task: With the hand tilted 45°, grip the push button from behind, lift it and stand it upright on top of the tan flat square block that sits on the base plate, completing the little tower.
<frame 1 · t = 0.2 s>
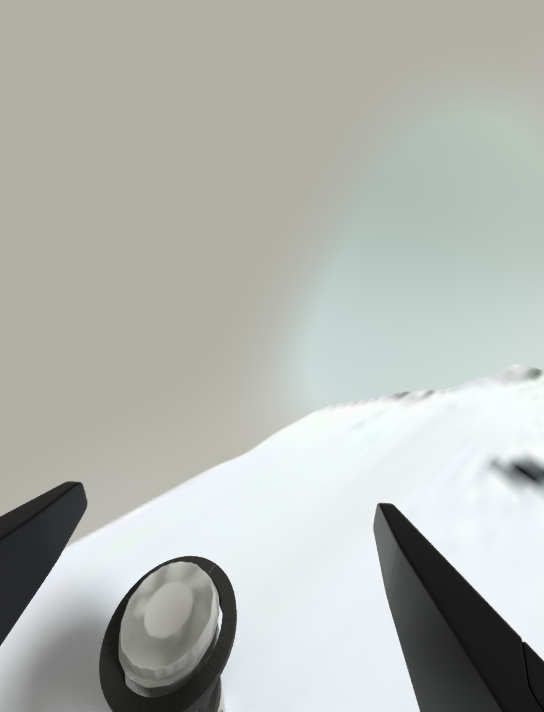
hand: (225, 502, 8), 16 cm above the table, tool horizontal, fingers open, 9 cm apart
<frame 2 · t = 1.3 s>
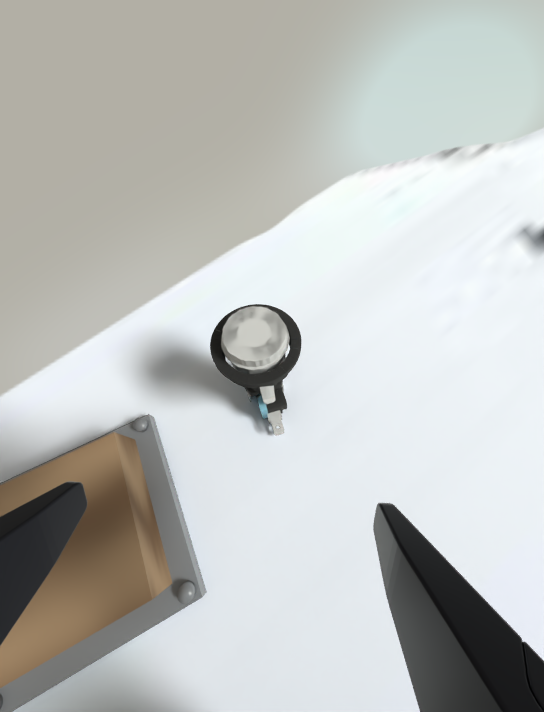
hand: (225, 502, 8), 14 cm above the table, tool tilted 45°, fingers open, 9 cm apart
tan flat square block: (81, 540, 19), resting on base plate
base plate: (90, 538, 20), on the table
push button: (267, 399, 24), on the table
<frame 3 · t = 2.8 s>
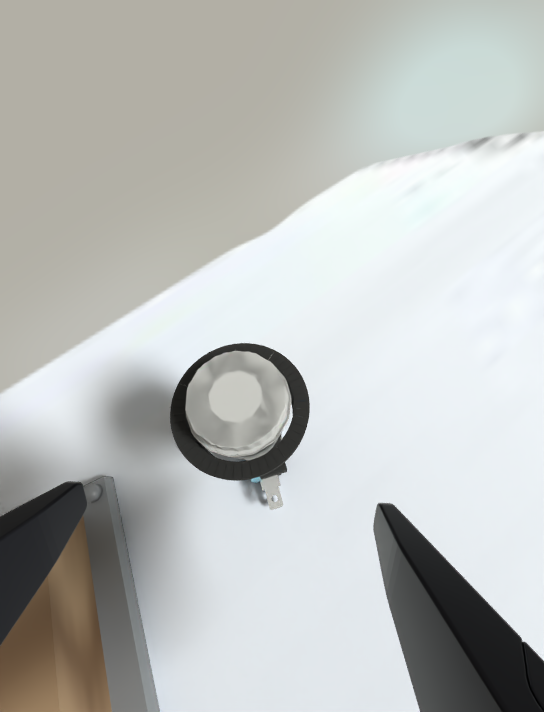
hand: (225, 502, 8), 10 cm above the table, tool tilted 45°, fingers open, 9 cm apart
base plate: (12, 661, 14), on the table
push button: (261, 453, 18), on the table
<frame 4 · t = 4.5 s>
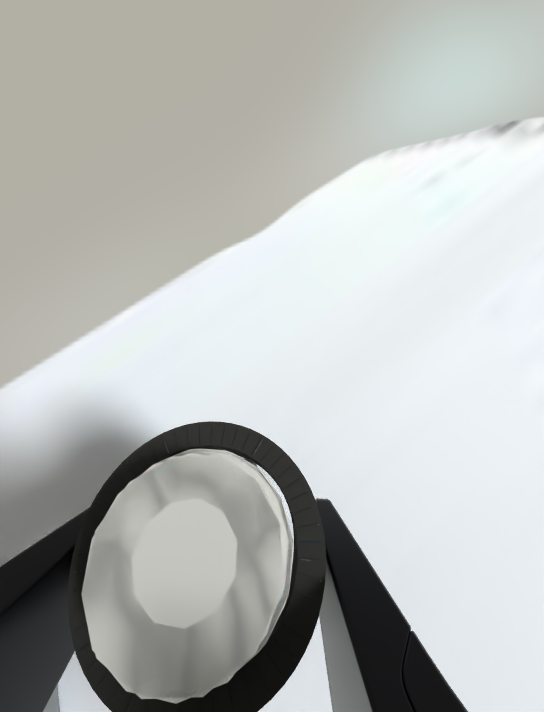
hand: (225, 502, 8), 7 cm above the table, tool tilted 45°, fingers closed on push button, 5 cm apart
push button: (248, 530, 14), on the table, touching gripper
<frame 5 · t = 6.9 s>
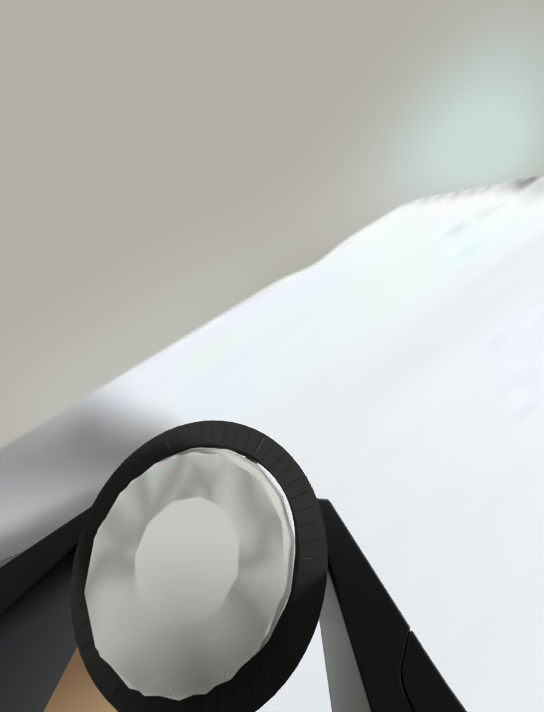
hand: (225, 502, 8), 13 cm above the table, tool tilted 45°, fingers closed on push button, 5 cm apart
tan flat square block: (80, 653, 16), resting on base plate
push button: (248, 528, 14), point 6 cm above the table, touching gripper
when the fingers open (12 cm above the table, at t = 9.1 s): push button drops 1 cm, resting on tan flat square block.
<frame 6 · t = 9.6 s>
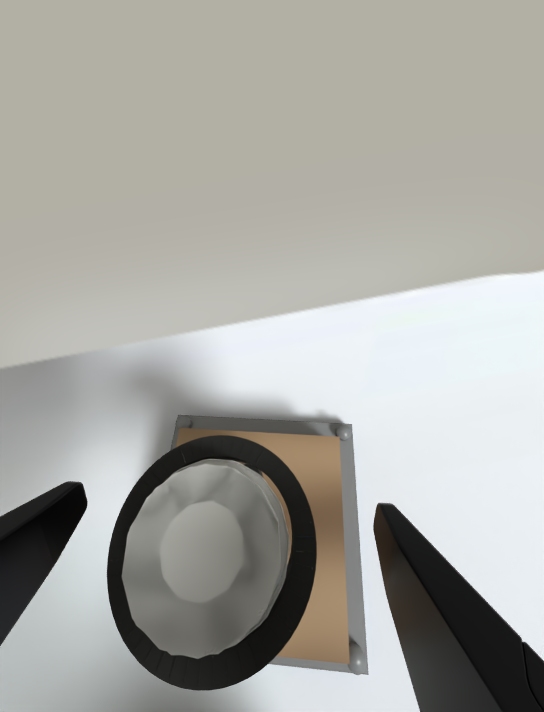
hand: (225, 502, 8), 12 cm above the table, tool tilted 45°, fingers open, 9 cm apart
tan flat square block: (255, 520, 18), resting on base plate
base plate: (256, 519, 18), on the table
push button: (253, 527, 15), point 4 cm above the table, touching tan flat square block
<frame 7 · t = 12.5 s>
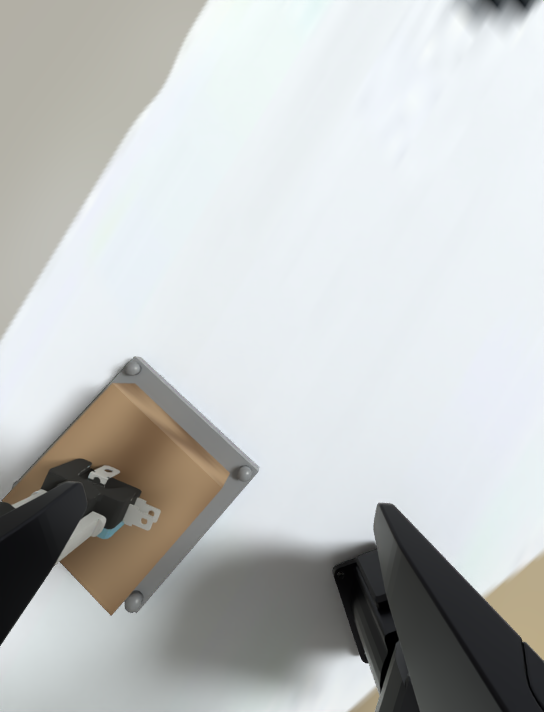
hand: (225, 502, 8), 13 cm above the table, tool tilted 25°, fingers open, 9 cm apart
tan flat square block: (135, 478, 20), resting on base plate
base plate: (142, 474, 21), on the table
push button: (116, 492, 18), point 4 cm above the table, touching tan flat square block
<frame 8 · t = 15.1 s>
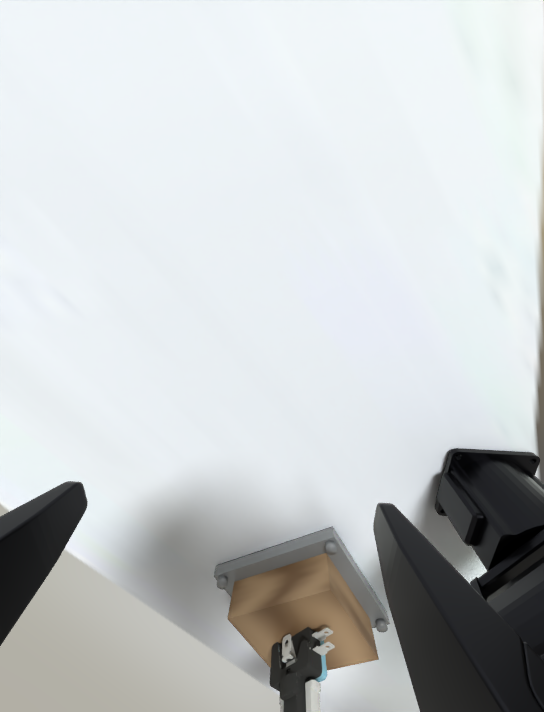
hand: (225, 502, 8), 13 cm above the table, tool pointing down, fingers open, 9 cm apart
tan flat square block: (302, 600, 27), resting on base plate
base plate: (302, 589, 28), on the table
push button: (303, 635, 25), point 4 cm above the table, touching tan flat square block
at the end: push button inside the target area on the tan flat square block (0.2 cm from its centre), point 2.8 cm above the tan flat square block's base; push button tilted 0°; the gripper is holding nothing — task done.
